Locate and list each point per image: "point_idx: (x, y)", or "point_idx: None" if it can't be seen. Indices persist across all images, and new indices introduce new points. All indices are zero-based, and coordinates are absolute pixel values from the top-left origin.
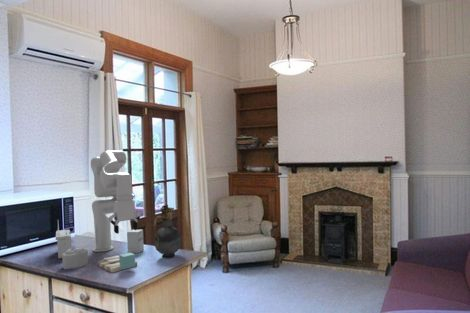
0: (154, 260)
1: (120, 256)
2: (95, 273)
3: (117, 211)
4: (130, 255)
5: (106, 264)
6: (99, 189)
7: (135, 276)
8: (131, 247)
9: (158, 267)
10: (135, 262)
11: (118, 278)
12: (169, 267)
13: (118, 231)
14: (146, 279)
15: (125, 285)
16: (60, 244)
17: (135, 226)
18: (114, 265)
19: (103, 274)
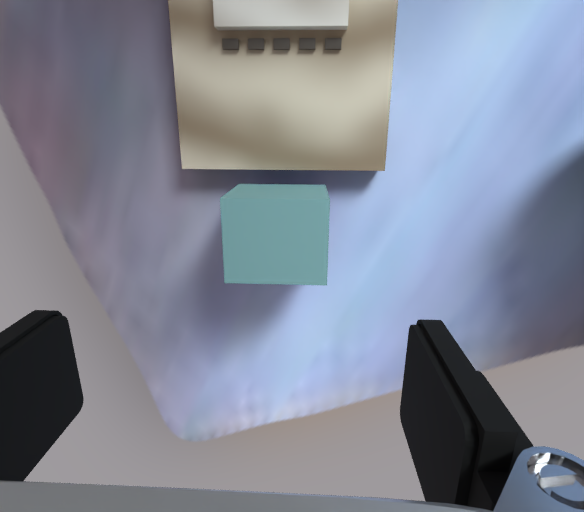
0: (541, 145)
1: (223, 221)
2: (99, 94)
3: None
4: (288, 283)
5: (186, 29)
6: None
7: (269, 341)
8: None
9: (449, 305)
10: (372, 169)
11: (186, 301)
12: (490, 354)
13: (60, 428)
14: (289, 417)
15: (177, 412)
16: None
17: (424, 472)
18: (225, 112)
19: (137, 161)
